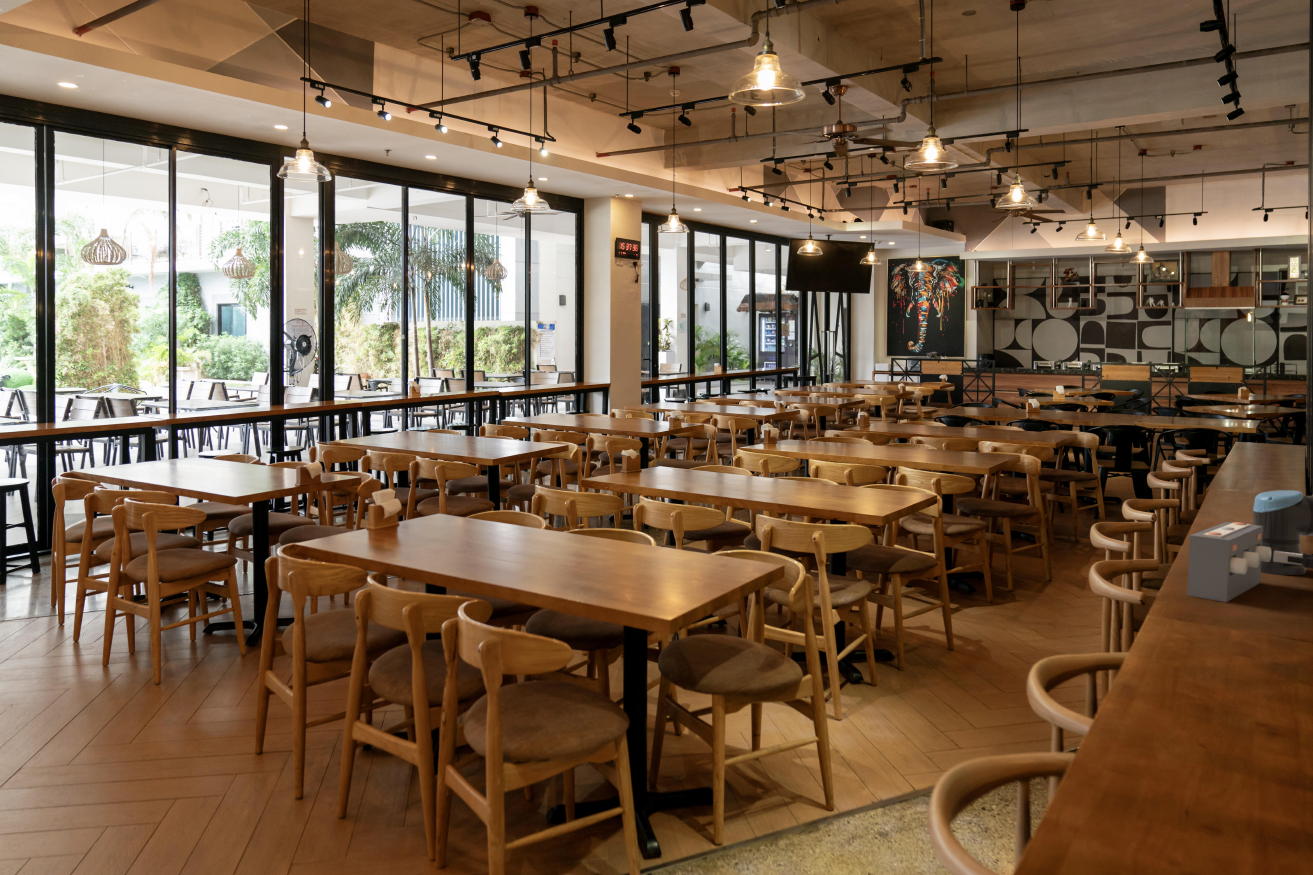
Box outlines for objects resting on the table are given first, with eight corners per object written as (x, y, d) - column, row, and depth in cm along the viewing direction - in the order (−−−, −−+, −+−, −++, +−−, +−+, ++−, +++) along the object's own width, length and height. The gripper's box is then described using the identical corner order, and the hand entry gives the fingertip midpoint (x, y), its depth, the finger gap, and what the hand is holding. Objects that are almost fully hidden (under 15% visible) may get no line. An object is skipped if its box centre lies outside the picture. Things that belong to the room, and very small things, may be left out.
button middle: (1235, 563, 241) (1236, 548, 241) (1259, 566, 237) (1260, 551, 237) (1231, 565, 239) (1231, 550, 238) (1255, 569, 234) (1255, 554, 234)
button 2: (1247, 557, 249) (1248, 543, 248) (1271, 560, 245) (1271, 546, 244) (1243, 559, 246) (1244, 545, 246) (1266, 562, 242) (1267, 548, 242)
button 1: (1222, 569, 234) (1223, 554, 234) (1247, 573, 230) (1247, 557, 229) (1217, 572, 231) (1218, 556, 231) (1242, 575, 227) (1243, 560, 227)
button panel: (1223, 577, 255) (1225, 519, 254) (1261, 583, 248) (1264, 523, 247) (1187, 595, 235) (1190, 532, 234) (1227, 602, 228) (1230, 537, 227)
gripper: (1379, 589, 220) (1266, 573, 238) (1389, 580, 229) (1279, 565, 246) (1381, 559, 220) (1268, 545, 237) (1391, 552, 229) (1281, 539, 246)
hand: (1274, 556), depth 242 cm, fingers closed
